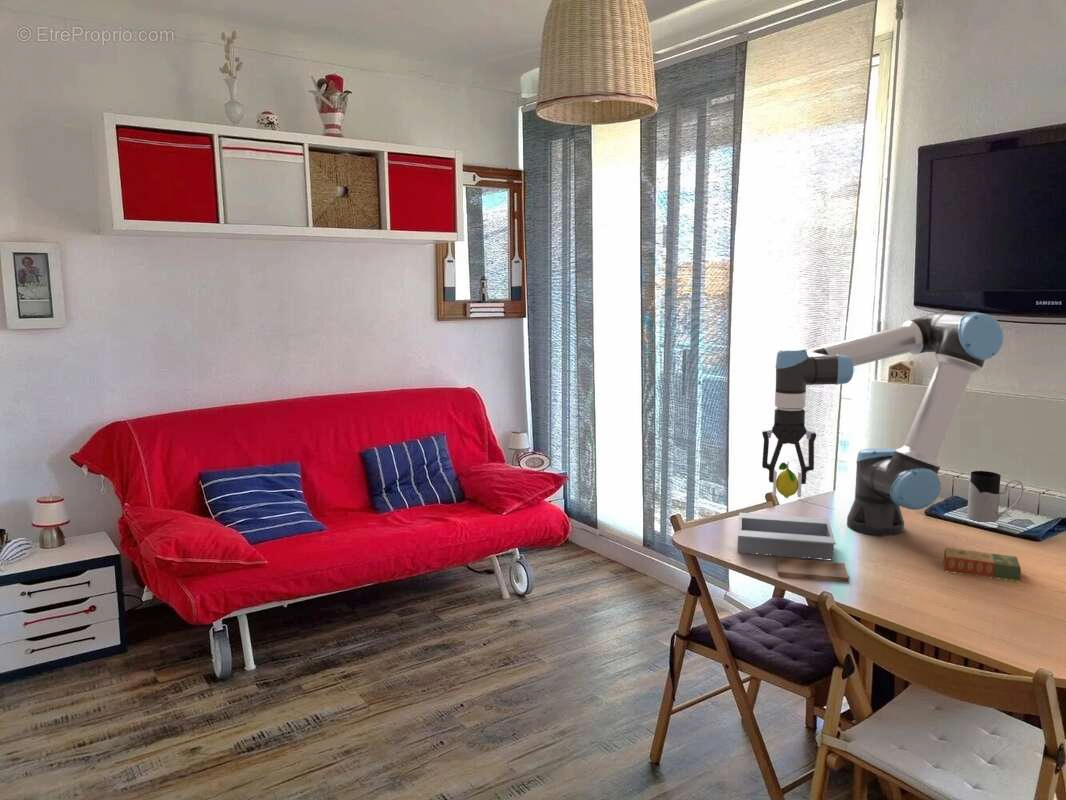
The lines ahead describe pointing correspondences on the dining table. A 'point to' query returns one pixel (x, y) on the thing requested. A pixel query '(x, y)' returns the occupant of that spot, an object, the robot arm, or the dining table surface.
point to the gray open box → (785, 536)
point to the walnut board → (812, 570)
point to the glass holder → (986, 496)
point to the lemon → (786, 481)
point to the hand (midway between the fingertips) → (786, 494)
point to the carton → (982, 564)
